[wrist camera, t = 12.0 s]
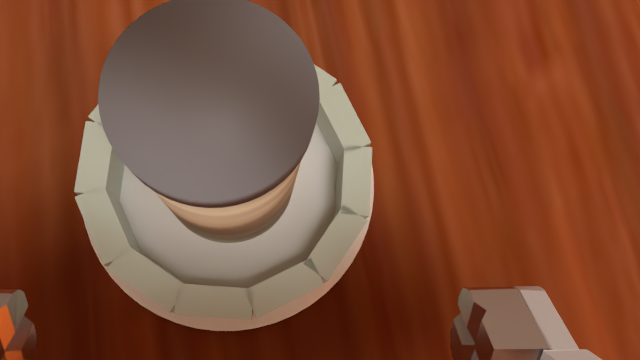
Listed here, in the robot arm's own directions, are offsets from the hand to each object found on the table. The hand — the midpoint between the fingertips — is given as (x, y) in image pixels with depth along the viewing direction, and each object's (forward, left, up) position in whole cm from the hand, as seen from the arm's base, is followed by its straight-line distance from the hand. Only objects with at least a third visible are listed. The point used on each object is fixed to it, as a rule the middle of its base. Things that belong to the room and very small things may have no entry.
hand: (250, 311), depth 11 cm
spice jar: (+3, +4, -10) cm, 11 cm away
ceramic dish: (+3, +4, -11) cm, 12 cm away
